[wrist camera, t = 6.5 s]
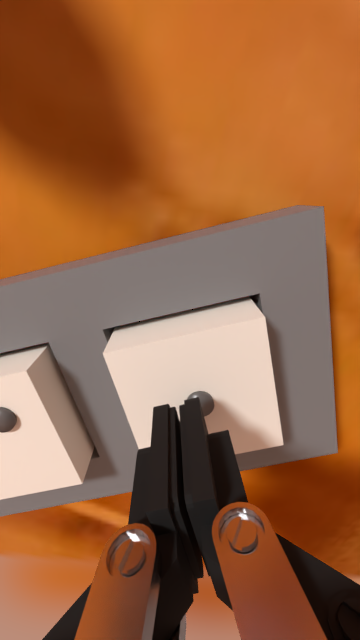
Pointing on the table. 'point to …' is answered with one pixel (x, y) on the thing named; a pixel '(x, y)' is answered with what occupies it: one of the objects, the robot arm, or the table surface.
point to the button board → (171, 297)
